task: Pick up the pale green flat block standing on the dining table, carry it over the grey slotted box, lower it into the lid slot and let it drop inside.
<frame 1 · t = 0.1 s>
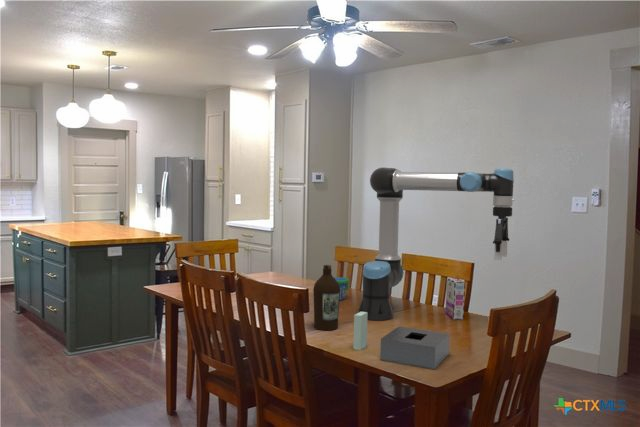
hand: (500, 258, 223), 28 cm above the table, fingers open, 13 cm apart
grey slotted box: (415, 356, 181), on the table
olive oil: (325, 328, 215), on the table
pale green flat block: (360, 347, 190), on the table
candy bar box: (454, 317, 238), on the table
snack cup: (337, 299, 270), on the table
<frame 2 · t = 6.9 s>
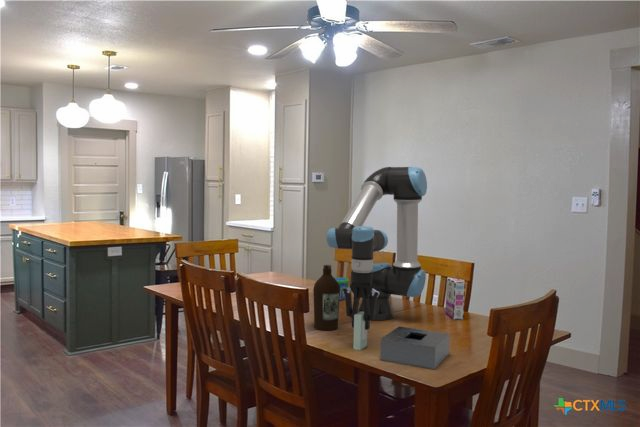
hand: (360, 337, 190), 4 cm above the table, fingers closed on pale green flat block, 2 cm apart
pale green flat block: (360, 347, 190), on the table, touching gripper
everything else where it was.
when the fingers open (8 cm above the table, at t = 15.8 s): pale green flat block drops 4 cm, resting on grey slotted box.
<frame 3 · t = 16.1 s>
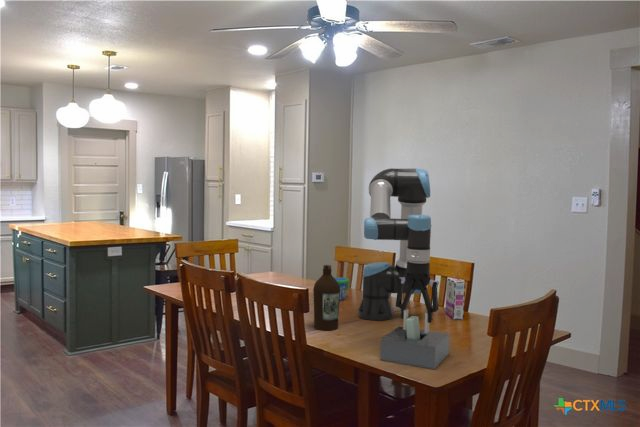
hand: (416, 330, 180), 9 cm above the table, fingers open, 7 cm apart
pale green flat block: (415, 353, 181), point 1 cm above the table, tilted 7°, touching grey slotted box
everything else where it was.
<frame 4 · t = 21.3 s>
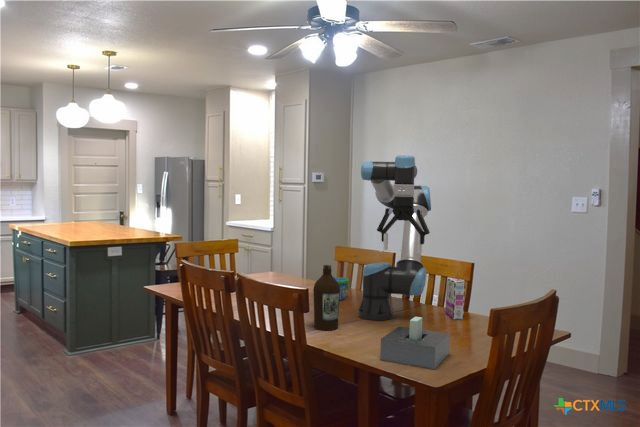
hand: (402, 251, 208), 32 cm above the table, fingers open, 13 cm apart
pale green flat block: (415, 354, 181), point 1 cm above the table, touching grey slotted box
everything else where it was.
at the end: pale green flat block inside the target area on the grey slotted box (0.1 cm from its centre), point 0.8 cm above the grey slotted box's base; the gripper is holding nothing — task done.
